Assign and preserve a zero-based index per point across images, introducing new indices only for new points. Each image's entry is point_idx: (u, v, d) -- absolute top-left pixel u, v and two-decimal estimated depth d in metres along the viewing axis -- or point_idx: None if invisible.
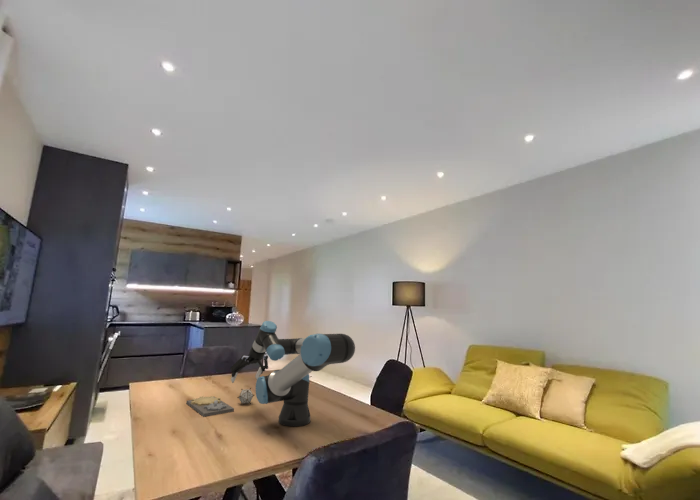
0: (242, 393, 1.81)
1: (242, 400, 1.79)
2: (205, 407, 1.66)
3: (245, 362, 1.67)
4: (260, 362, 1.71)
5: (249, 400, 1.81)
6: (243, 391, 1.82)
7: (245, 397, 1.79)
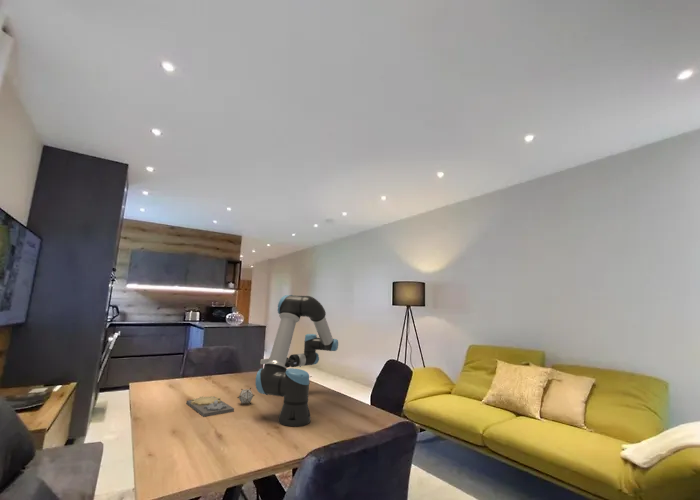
0: (242, 393, 1.81)
1: (242, 400, 1.79)
2: (205, 407, 1.66)
3: None
4: (288, 359, 1.99)
5: (249, 400, 1.81)
6: (243, 391, 1.82)
7: (245, 397, 1.79)
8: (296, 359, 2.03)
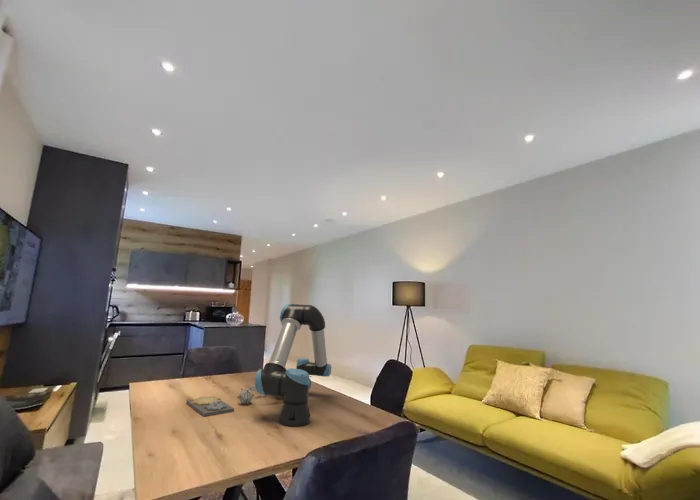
0: (242, 393, 1.81)
1: (242, 400, 1.79)
2: (205, 407, 1.66)
3: None
4: None
5: (249, 400, 1.81)
6: (243, 391, 1.82)
7: (245, 397, 1.79)
8: None
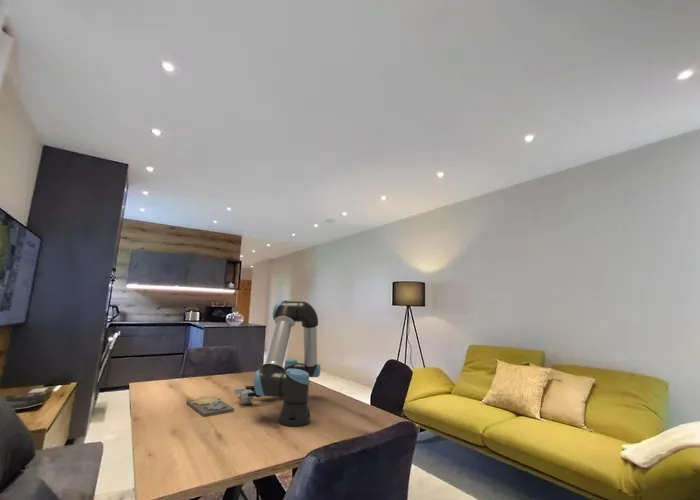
0: None
1: (243, 400, 1.79)
2: (205, 407, 1.66)
3: None
4: None
5: (250, 400, 1.80)
6: (244, 391, 1.81)
7: None
8: None
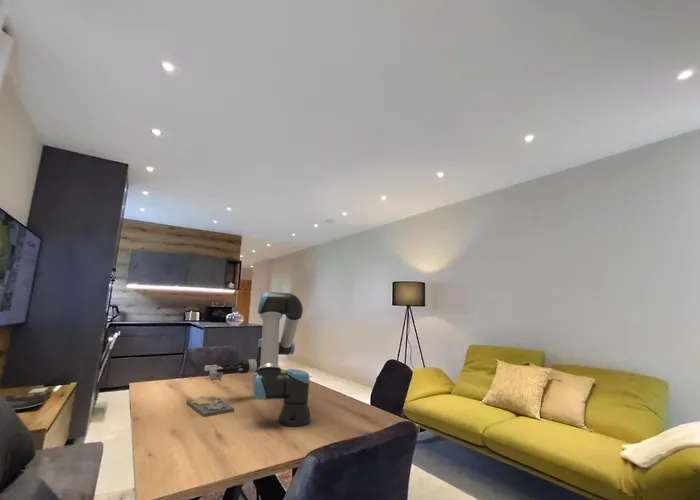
0: None
1: (212, 376, 1.78)
2: (205, 407, 1.66)
3: None
4: (234, 365, 1.86)
5: (219, 377, 1.79)
6: None
7: (215, 373, 1.78)
8: (245, 365, 1.89)
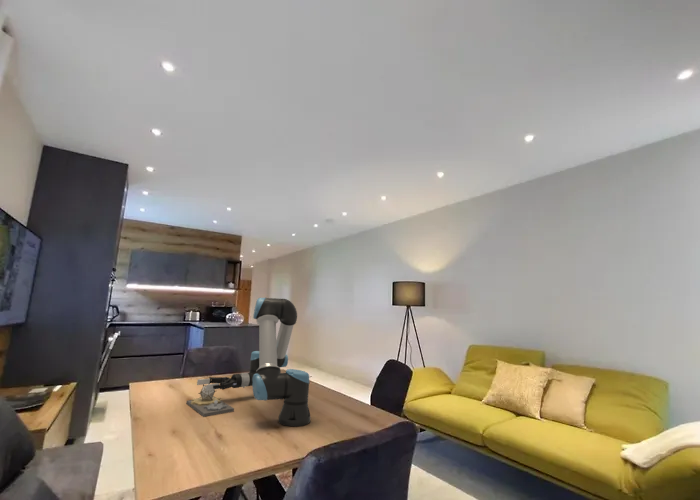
0: (203, 389, 1.75)
1: (203, 396, 1.74)
2: (205, 407, 1.66)
3: None
4: (228, 380, 1.83)
5: (211, 396, 1.76)
6: (204, 387, 1.77)
7: (206, 393, 1.74)
8: (237, 379, 1.86)
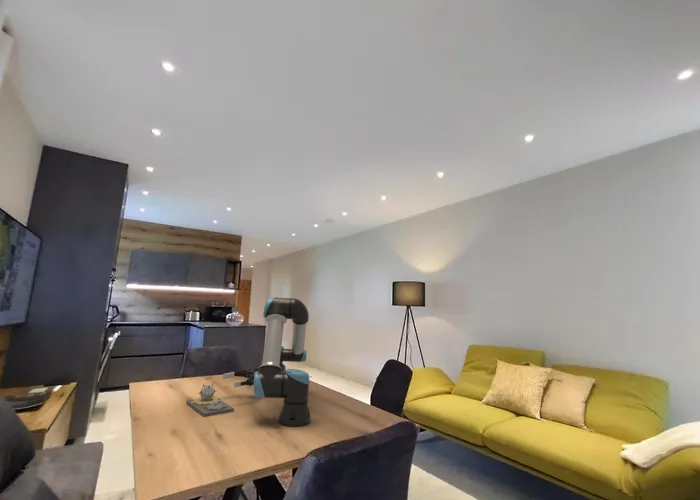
0: (203, 389, 1.75)
1: (203, 396, 1.74)
2: (205, 407, 1.66)
3: None
4: (253, 375, 1.92)
5: (211, 396, 1.76)
6: (204, 387, 1.77)
7: (206, 393, 1.74)
8: None
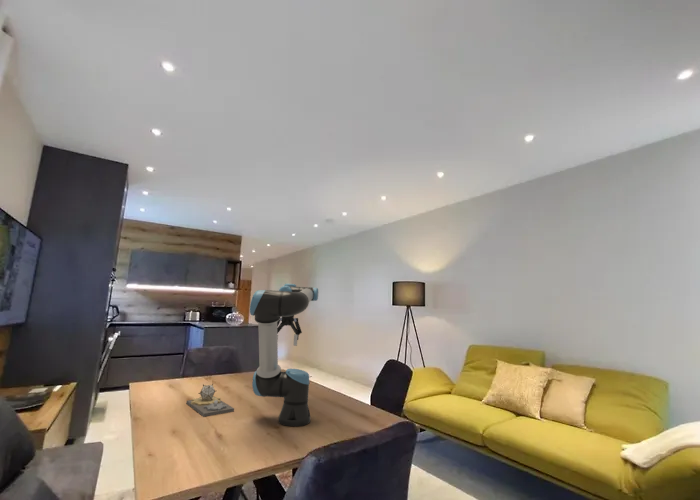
0: (203, 389, 1.75)
1: (203, 396, 1.74)
2: (205, 407, 1.66)
3: (281, 324, 1.95)
4: (293, 323, 1.99)
5: (211, 396, 1.76)
6: (204, 387, 1.77)
7: (206, 393, 1.74)
8: None
